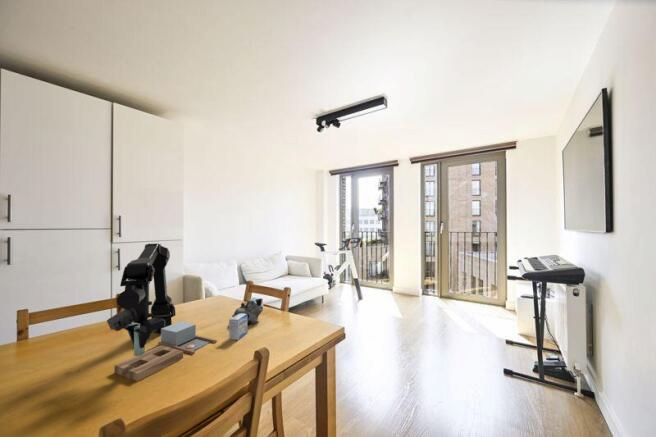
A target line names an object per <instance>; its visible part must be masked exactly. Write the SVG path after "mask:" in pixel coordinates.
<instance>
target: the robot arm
mask: <svg viewBox="0 0 656 437" xmlns="http://www.w3.org/2000/svg"><path fill="white" fill-rule="evenodd" d="M170 253H171V252H170V251H169V248H168V247H165V246H162V244H161V243H158V242H157V243H146V244H144V249H143V250H142V252H141V253H140V255H139V256H138V258H137V259H133V260H131V261H130V262H128V263H127V265H126V266H124V269H123V271H122V272H123V274H122V276H121V279H120V285H119V286H120V287H124V290H123V291H121V293H120V294H119V295H118V296H117V298H116V303H117V305H118V306H119V308H121V309H123V310H122V311H120V312H117V313H116V314H114V315H112V316H111V317H110V318H107V320H106V322H107V324H108V326H109V330H114V331H116V332H119V331H121V330H125V331H127V334H128V335H129V337H130V340H131V343H132V345H133V347H134V331H135V332H136V333H138V338H139V345H140V348H143V347H144V346H145V347H146V344H147V342H148V341H149V338H150V336H151V334H152V332H153V333H157V334H160V335H161V329H162V328H164V327H167V326H170V325H172V323H173V322H172V318H174V317H176V315H177V314H176V308H175V307H176V306H175V305H174V304H175V303H173V300H172V298H171V297H170V296H169V295H168V290H167V287H168V286H167V276H166V267H167V265H168V263H169V260H170V257H171V254H170ZM152 281H153V286H154V296H155V298H154V300H153V301H151V300H150V284H151V282H152ZM150 306H151V307H150ZM139 325H140V327H139V329H136V330H134V327H136V326H139Z"/></svg>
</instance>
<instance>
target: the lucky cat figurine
mask: <svg viewBox="0 0 656 437" xmlns="http://www.w3.org/2000/svg"><path fill="white" fill-rule="evenodd" d="M263 311H264V301H263V298H262V297H261V298H259V297H252V298H250V299H248V300H247V302H246V303H245V302H241V303H240V306H239V307H238V308H236V309H235V311H234V312H233V314H232V315H231V318H233V317H234V316H236V315H237V314H240V313H242V314H247V325H250V326H251V325H254V324H255V323H257V322H258V320H259V316H260V315H261V313H262V312H263Z"/></svg>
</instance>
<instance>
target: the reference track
mask: <svg viewBox="0 0 656 437" xmlns="http://www.w3.org/2000/svg"><path fill="white" fill-rule="evenodd" d="M210 343H214V344H216V343H217V339H215V338H210V337H206V336H202V335H197V334H196V337H195V338H194V339H192V340H189V341H187V342H185V343H183V344H181V345H178V346H175V345H171V344H167V343H163V342H161V341H158V342H157V346H161V345H163V346H166V347H170V348H173V349H177V350H181V351H183V353H186V354H190V355H195V354H196V351H198V350H199V349H201V348H203V347H205V346H207V345H209V344H210Z"/></svg>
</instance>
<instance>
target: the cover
mask: <svg viewBox="0 0 656 437" xmlns="http://www.w3.org/2000/svg"><path fill="white" fill-rule="evenodd" d="M196 329H197V328H196V323H191V322H186V321H183V320H181V321H178V322H176V323H173V324H172V325H170V326H167V327H164V328H162V329H161V334H160V342H163V343H167V344H171V345H175V346H178V347H179V346H181V345H183V344H186V343H188V342H190V341H192V340H194V339H196V338H195V337H196V335H197V334H196Z"/></svg>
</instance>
